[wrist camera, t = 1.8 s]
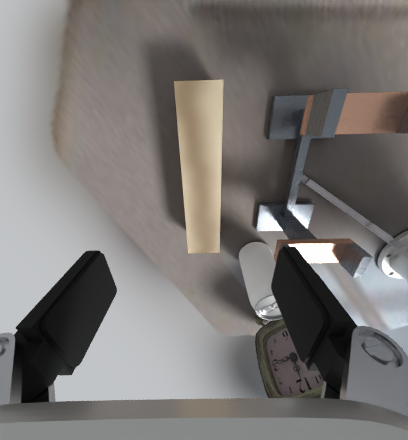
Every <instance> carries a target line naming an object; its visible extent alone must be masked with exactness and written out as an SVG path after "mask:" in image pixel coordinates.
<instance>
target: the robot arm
mask: <svg viewBox="0 0 408 440" xmlns="http://www.w3.org/2000/svg"><path fill="white" fill-rule="evenodd" d="M394 239H396V240H398V241H399V242H401V243H402V244H403V245H405V246H407V247H408V230H407V231H405V232H403V233H401V234H400V235H398V236H397V237H395V238H394ZM378 267H379V269H380V270H381V271H382V272H383V273H384V274H385V275H387V276H389V277H392V278H404V279H405V280H407V281H408V248H407V249H406V250H404V251H403V252H402V251H400V250H398V249H397V248H395V247H393V246H392V245H390V244H389V243H388V244H387V245H386V246H385V247H384V248H383V249H382V251H381V253H380V255H379V257H378ZM271 290H272V293H273V295H274V298H275V300H276V303H277V305H278V308H279V310H280V312H281V315H282V317H283V320H284V322H285V325H286V327H287V329H288V332H289V334H290V337H291V339H292V342H293V344H294V346H295V349H296V351H297V354H298V356H299V358H300V360H301V361H302V362H303V363H305V364H306V367H307V369H308V371H319V373H320V375H321V377H322V379H323V380H324V383H323V388H322V393H321V398H236V399H169V400H114V401H113V400H112V401H66V402H55V391H54V381H55V379H56V377H57V375H72V373H73V371H74V369H75V368H76V366H78V365H79V364H80V363H81V362H82V359H83V358H84V356H85V354H86V352H87V350H88V348H89V346H90V344H91V342H92V340H93V338H94V336H95V334H96V332H97V330H98V328H99V326H100V324H101V322H102V321H103V319H104V317H105V315H106V313H107V311H108V309H109V307H110V305H111V303H112V301H113V299H114V297H115V295H116V292H117V288H116V285H115V283H114V280H113V278H112V275H111V272H110V269H109V267H108V264H107V261H106V259H105V256H104V254H102V253H101V252H100V251H86V252H85V253H84V254H83V255H82V256H81V257H80V258H79V259H78V260H77V261H76V263H75V264H74V265H73V266H72V267H71V268H70V269H69V270H68V271H67V272H66V274H64V276H63V277H62V278H61V279H60V280H59V281H58V282H57V283H56V284H55V285H54V286H53V288H52V289H51V290H50V291H49V292H48V293H47V294H46V295H45V296H44V297H43V299H42V300H41V301H40V302H39V303H38V304H37V305H36V306H35V307H34V308H33V309H32V310H31V311H30V313H29V314H28V315H27V316H26V317H25V318H24V319H23V320H22V321H21V322H20V323H19V325H18V326H17V327H16V329H17V330H18V331H17V332H16V333H15V334H14V335H13V334H12V333H2V334H0V440H408V357H407V355H406V354H405V352H404V351H403V349H402V348H401V347H400V346H399V345H398V344H397V343H396V342H395V341H394V340H393V339H391V338H390V337H389V336H388V335H386V334H384V333H383V332H381V331H379V330H377V329H374V328H372V327H367V326H357V325H356V324H355V322H354V321H353V320H352V319H351V317H350V316H349V315H348V313H347V312H346V311H345V309H344V308H343V307H342V305H341V304H340V303H339V301H338V300H337V299H336V298H335V296H334V295H333V294H332V292H331V291H330V290H329V288H328V287H327V286H326V284H325V283H324V282H323V281H322V279H321V278H320V277H319V275H318V274H317V273H316V272H315V271H314V270H313V269H312V267H311V266H310V265H309V263H308V262H307V261H306V259H305V258H304V257H303V255H302V254H301V253H300V252H299V250H298V249H297V248H296V247H295V246H284V247H283V248H282V249H280V250H279V252H278V256H277V261H276V265H275V269H274V274H273V278H272V283H271Z"/></svg>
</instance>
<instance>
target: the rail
mask: <svg viewBox="0 0 408 440" xmlns="http://www.w3.org/2000/svg"><path fill="white" fill-rule="evenodd" d="M174 89H175V101H176V113H177V125H178V137H179V149H180V161H181V173H182V184H183V196H184V208H185V220H186V232H187V244H188V253H220V208H221V163H222V118H223V80H197V81H174Z"/></svg>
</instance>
